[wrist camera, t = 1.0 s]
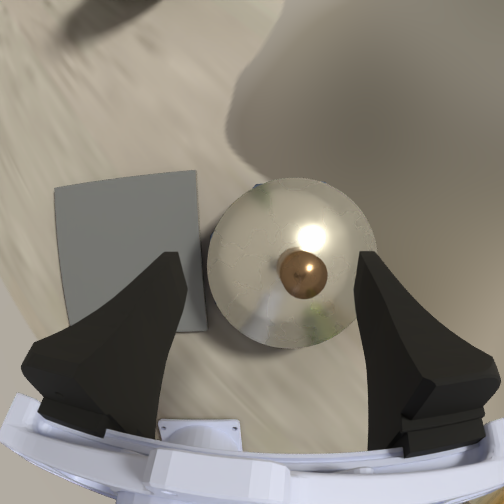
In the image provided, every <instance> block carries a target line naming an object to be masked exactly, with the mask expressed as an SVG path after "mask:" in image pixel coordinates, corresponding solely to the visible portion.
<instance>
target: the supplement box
mask: <svg viewBox="0 0 504 504" xmlns="http://www.w3.org/2000/svg"><path fill="white" fill-rule="evenodd" d="M469 503H470V504H504V487H502V488H500V489H498V490H496V491H494V492H492V493H490V494H487V495H484V496H481V497H479V498H476V499H473V500H470V501H469Z"/></svg>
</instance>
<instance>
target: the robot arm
mask: <svg viewBox="0 0 504 504" xmlns="http://www.w3.org/2000/svg"><path fill="white" fill-rule="evenodd" d="M187 291H188V287H187V284H186V280H185V276H184V272H183V269H182V265H181V261H180V257H179V253H178V252H163V253H162V254H161V255H160V256H159V257H158V258H157V259H155V260H154V261H153V262H152V263H151V264H150V265H149V266H148V267H147V268H146V269H145V270H144V271H143V272H142V273H140V274H139V275H138V276H137V277H136V278H135V279H134V280H133V281H132V282H131V283H130V284H128V285H127V286H126V287H125V288H124V289H123V290H121V291H120V292H119V293H118V294H117V295H116V296H114V297H113V298H112V299H111V300H109V301H108V302H107V303H105V304H104V305H103V306H101V307H100V308H99V309H97V310H96V311H94V312H93V313H91V314H89V315H88V316H86V317H85V318H83V319H82V320H80V321H78V322H77V323H75V324H73V325H71V326H69V327H68V328H66V329H64V330H62V331H60V332H58V333H55V334H53V335H51V336H49V337H46V338H44V339H41V340H39V341H37V342H34V343H33V345H32V347H31V349H30V350H29V352H28V354H27V356H26V357H25V359H24V361H23V363H22V365H21V370H22V372H23V374H24V376H25V377H26V378H27V380H28V381H29V382H30V383H31V384H32V385H33V386H34V387H35V388H36V389H37V390H38V391H39V392H40V394H42V396H43V397H44V398H43V400H42V402H40V401H38V400H36V399H34V398H32V397H29V396H27V395H24V394H22V393H17V394H16V397H15V398H14V400H13V403H12V405H11V407H10V409H9V411H8V413H7V415H6V418H5V420H4V422H3V424H2V427H1V429H0V442H1V443H2V444H3V445H5V446H6V447H8V448H9V449H10V450H12V451H13V452H15V453H17V454H18V455H19V456H21V457H23V458H24V459H25V460H27V461H29V462H30V463H32V464H34V465H36V466H38V467H40V468H42V469H44V470H46V471H48V472H50V473H53V474H54V475H57V476H59V477H61V478H63V479H65V480H68V481H70V482H72V483H74V484H77V485H79V486H82V487H84V488H86V489H89V490H91V491H94V492H97V493H99V494H102V495H104V496H107V497H110V498H113V499H116V504H460V503H464V502H467V501H470V500H473V499H476V498H479V497H481V496H484V495H487V494H490V493H492V492H494V491H496V490H498V489H500V488H502V487H504V418H500V419H497V420H494V421H491V422H488V423H486V424H485V425H483V422H482V418H483V417H484V416H485V412H484V408H483V406H484V405H485V404H486V403H487V401H488V400H489V399H490V398H491V397H492V396H493V395H494V394H495V392H496V391H497V390H498V388H499V386H500V383H501V378H500V375H499V372H498V369H497V366H496V364H495V362H494V359H493V357H492V356H490V355H488V354H486V353H485V352H483V351H481V350H479V349H477V348H475V347H474V346H472V345H471V344H469V343H468V342H466V341H465V340H463V339H461V338H460V337H458V336H457V335H456V334H454V333H453V332H452V331H450V330H449V329H448V328H446V327H445V326H444V325H443V324H441V323H440V322H439V321H437V320H436V319H435V318H434V317H433V316H432V315H431V314H430V313H429V312H428V311H426V310H425V309H424V308H423V307H422V306H421V305H420V304H419V303H418V302H417V301H416V300H415V299H414V298H413V297H412V296H411V295H410V293H409V292H407V290H406V289H405V288H404V287H403V286H402V284H401V283H400V282H399V281H398V280H397V278H396V277H395V276H394V275H393V274H392V272H391V271H390V270H389V269H388V267H387V266H386V265H385V264H384V262H383V261H382V260H381V258H380V257H379V256H378V255H377V253H376V252H375V251H359V258H358V264H357V271H356V277H355V283H354V289H353V291H354V302H355V312H356V317H357V321H358V326H359V331H360V336H361V340H362V345H363V350H364V355H365V361H366V369H367V384H368V451H362V452H348V453H328V454H275V453H255V452H243V451H242V441H241V431H240V422H239V421H238V420H236V419H222V420H183V419H160V420H159V421H158V426H159V430H160V434H161V438H162V441H159V440H155V429H156V418H157V410H158V403H159V396H160V390H161V384H162V379H163V374H164V369H165V364H166V360H167V357H168V353H169V350H170V348H171V345H172V342H173V339H174V336H175V333H176V330H177V328H178V325H179V322H180V319H181V316H182V313H183V310H184V306H185V301H186V296H187ZM163 427H166V428H163ZM233 427H237V428H236V429H234V428H233Z"/></svg>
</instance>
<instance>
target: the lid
mask: <svg viewBox="0 0 504 504" xmlns="http://www.w3.org/2000/svg"><path fill="white" fill-rule="evenodd" d="M359 251H375V252H376V253H377V248H376V242H375V238H374V235H373V232H372V229H371V227H370V225H369V223H368V221H367V219H366V217H365V216H364V215H363V213H362V211H361V210H360V209H359V207H358V206H357V205H356V204H355V203H354V202H353V201H352V200H351V199H350V198H349V197H348V196H346V195H345V194H344V193H342V192H341V191H339V190H338V189H336V188H334V187H332V186H330V185H328V184H326V183H323V182H320V181H316V180H312V179H306V178H283V179H278V180H273V181H269V182H266V183H264V184H261V185H259V186H257V187H255V188H253V189H251V190H249V191H248V192H246V193H245V194H244V195H242V196H241V197H240V198H238V199H237V200H236V201H235V202H234V203H233V204H232V205H231V206H230V207H229V208H228V210H227V211H226V212H225V213H224V215H223V216H222V218H221V219H220V221H219V223H218V224H217V226H216V228H215V231H214V233H213V235H212V238H211V242H210V246H209V250H208V258H207V274H208V281H209V285H210V289H211V292H212V295H213V298H214V300H215V302H216V304H217V306H218V308H219V309H220V311H221V313H222V314H223V315H224V317H225V318H226V319H227V320H228V321H229V323H230V324H232V325H233V326H234V327H235V328H236V329H237V330H238V331H240V332H241V333H242V334H244V335H245V336H247V337H249V338H250V339H252V340H254V341H256V342H259V343H262V344H264V345H268V346H272V347H277V348H287V349H288V348H303V347H309V346H312V345H316V344H319V343H322V342H324V341H326V340H329V339H330V338H332V337H334V336H336V335H337V334H339V333H340V332H341V331H343V330H344V329H345V328H347V327H348V326H349V325H350V324H351V323H352V322H353V321H354V320H355V319H356V318H357V317H356V312H355V302H354V291H353V289H354V283H355V277H356V271H357V264H358V258H359Z"/></svg>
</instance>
